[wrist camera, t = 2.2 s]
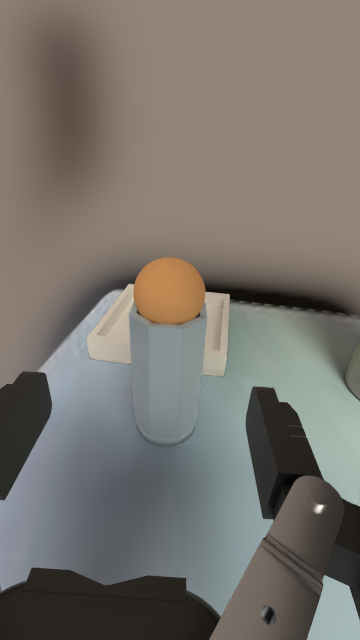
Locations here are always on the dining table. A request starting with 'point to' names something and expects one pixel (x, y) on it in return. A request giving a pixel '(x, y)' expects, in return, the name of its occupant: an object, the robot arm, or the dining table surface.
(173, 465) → the dining table surface
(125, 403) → the dining table surface
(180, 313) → the ball
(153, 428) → the cup
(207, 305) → the tray
